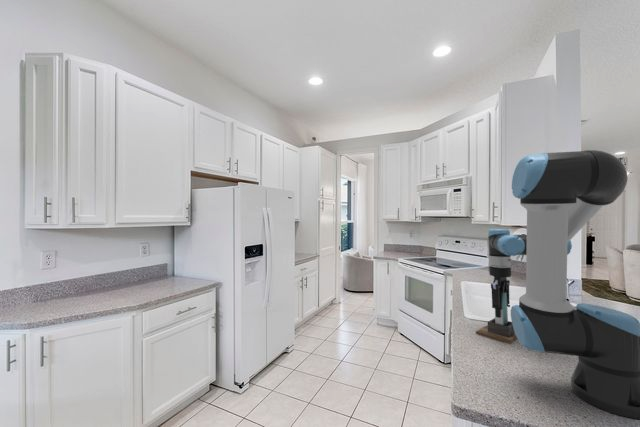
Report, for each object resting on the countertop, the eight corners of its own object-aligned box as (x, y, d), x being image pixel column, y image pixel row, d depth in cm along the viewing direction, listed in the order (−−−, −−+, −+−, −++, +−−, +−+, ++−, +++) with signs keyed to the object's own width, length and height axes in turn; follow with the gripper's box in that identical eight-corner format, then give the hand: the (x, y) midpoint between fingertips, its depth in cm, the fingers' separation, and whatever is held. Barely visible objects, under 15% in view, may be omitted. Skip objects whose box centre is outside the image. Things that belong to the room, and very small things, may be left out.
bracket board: (509, 344, 104) (509, 330, 104) (476, 334, 113) (475, 321, 114) (522, 334, 112) (521, 321, 113) (490, 326, 122) (489, 314, 122)
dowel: (505, 329, 109) (504, 294, 110) (494, 326, 113) (493, 292, 113) (509, 327, 112) (508, 292, 112) (498, 324, 115) (497, 291, 116)
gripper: (502, 269, 105) (504, 331, 104) (517, 265, 115) (519, 321, 115) (481, 267, 111) (482, 325, 110) (497, 263, 121) (499, 316, 120)
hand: (501, 323), depth 112 cm, fingers closed on dowel, 4 cm apart
